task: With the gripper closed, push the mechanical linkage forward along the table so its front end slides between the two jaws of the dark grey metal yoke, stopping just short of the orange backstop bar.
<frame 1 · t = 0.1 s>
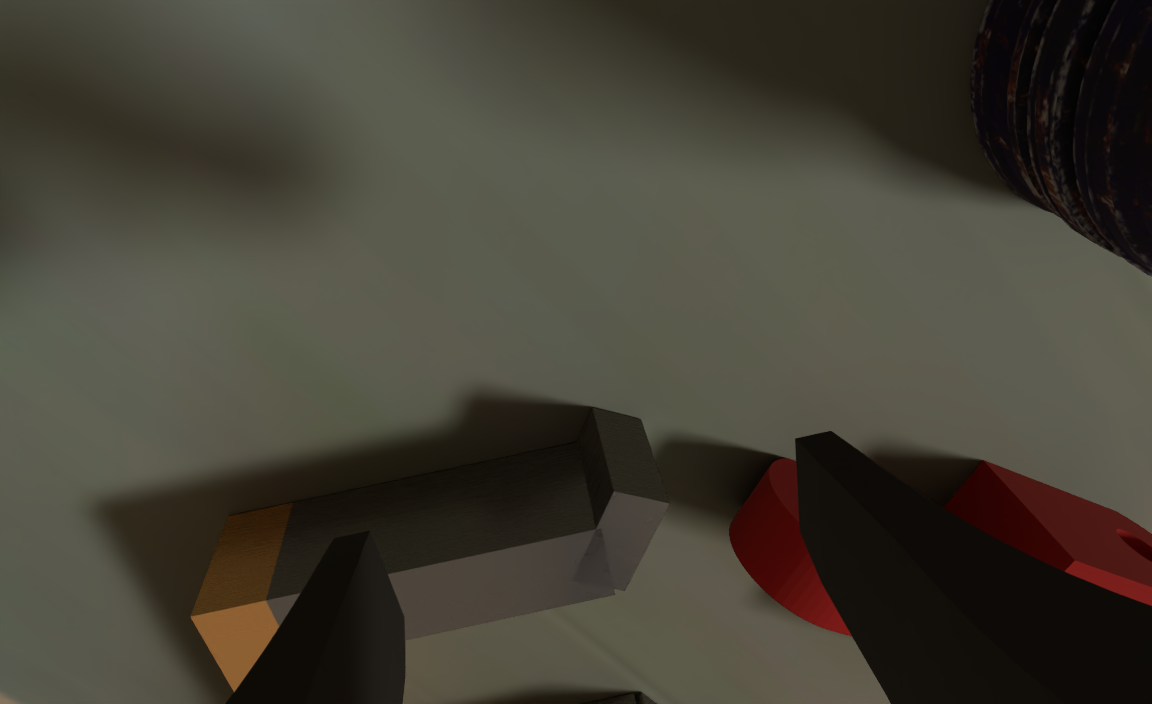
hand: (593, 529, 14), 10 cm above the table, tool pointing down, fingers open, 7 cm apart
mechanical linkage: (914, 528, 29), on the table
storage jar: (1144, 37, 21), on the table
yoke: (490, 633, 29), on the table
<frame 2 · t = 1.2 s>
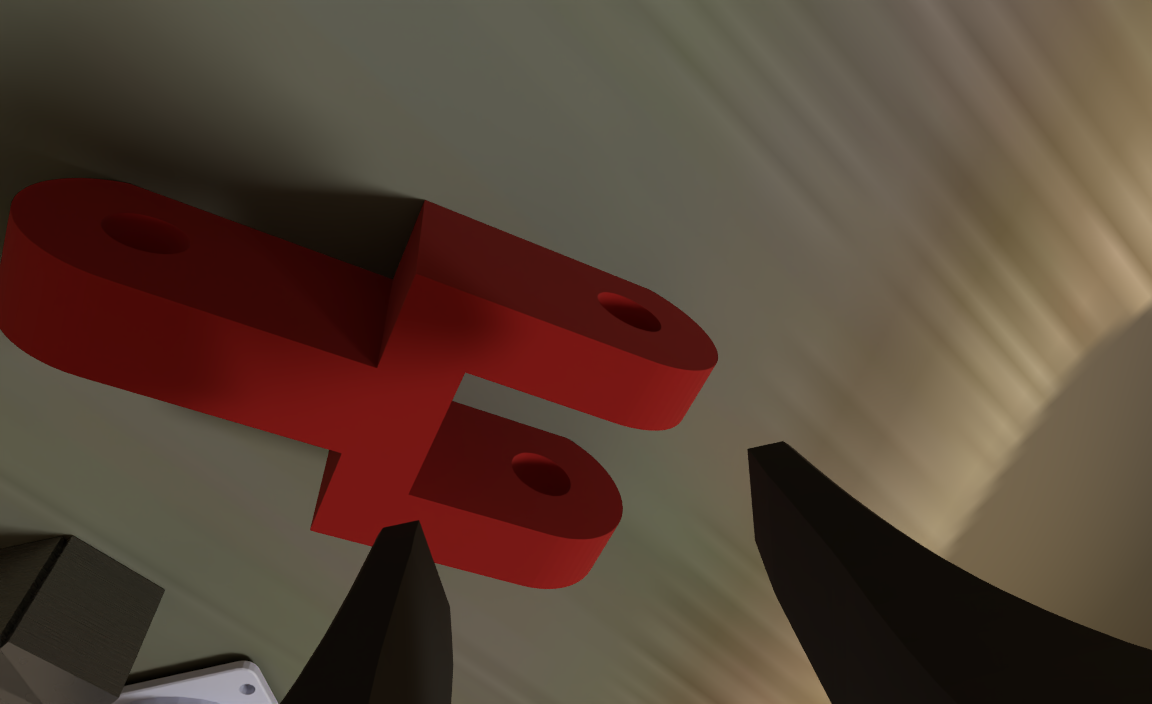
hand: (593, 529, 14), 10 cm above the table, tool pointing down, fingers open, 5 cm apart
mechanical linkage: (379, 309, 23), on the table
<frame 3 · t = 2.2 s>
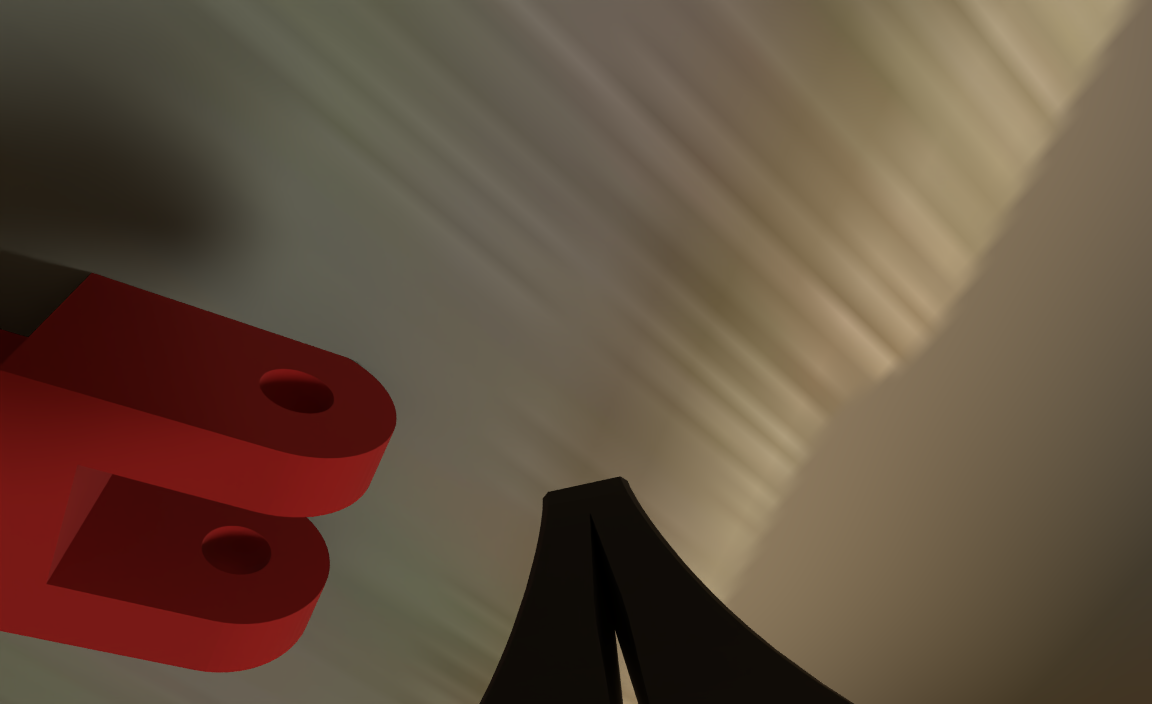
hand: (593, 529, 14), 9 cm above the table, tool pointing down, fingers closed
mechanical linkage: (70, 380, 22), on the table
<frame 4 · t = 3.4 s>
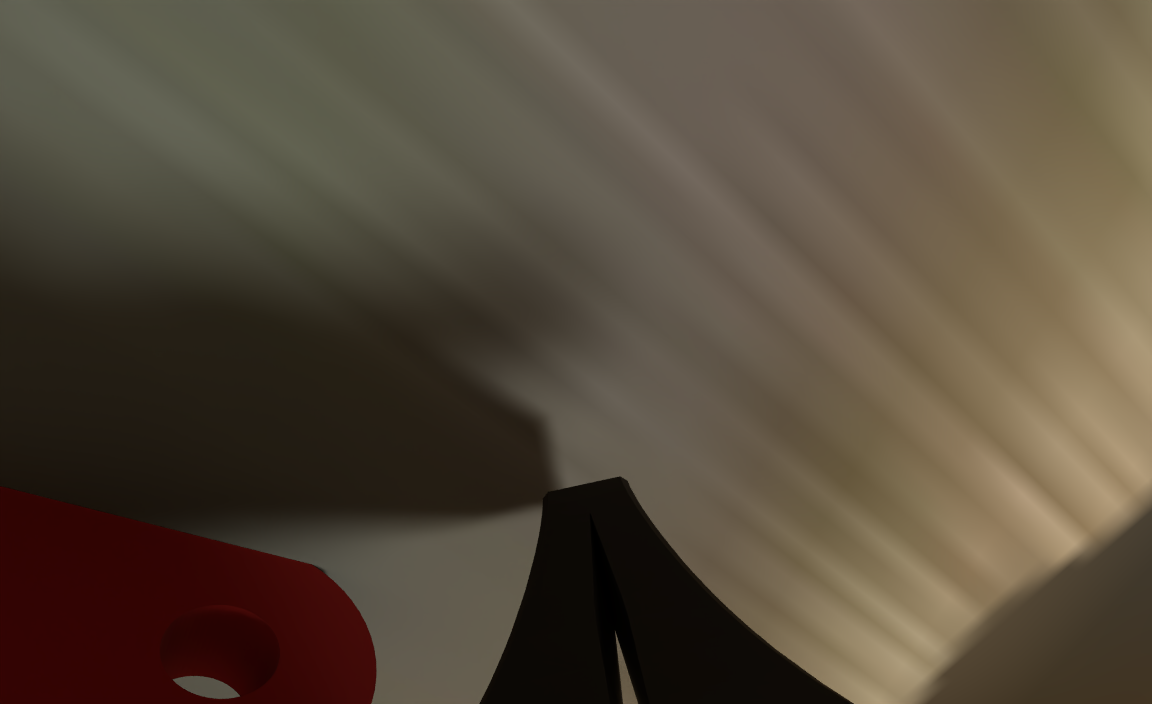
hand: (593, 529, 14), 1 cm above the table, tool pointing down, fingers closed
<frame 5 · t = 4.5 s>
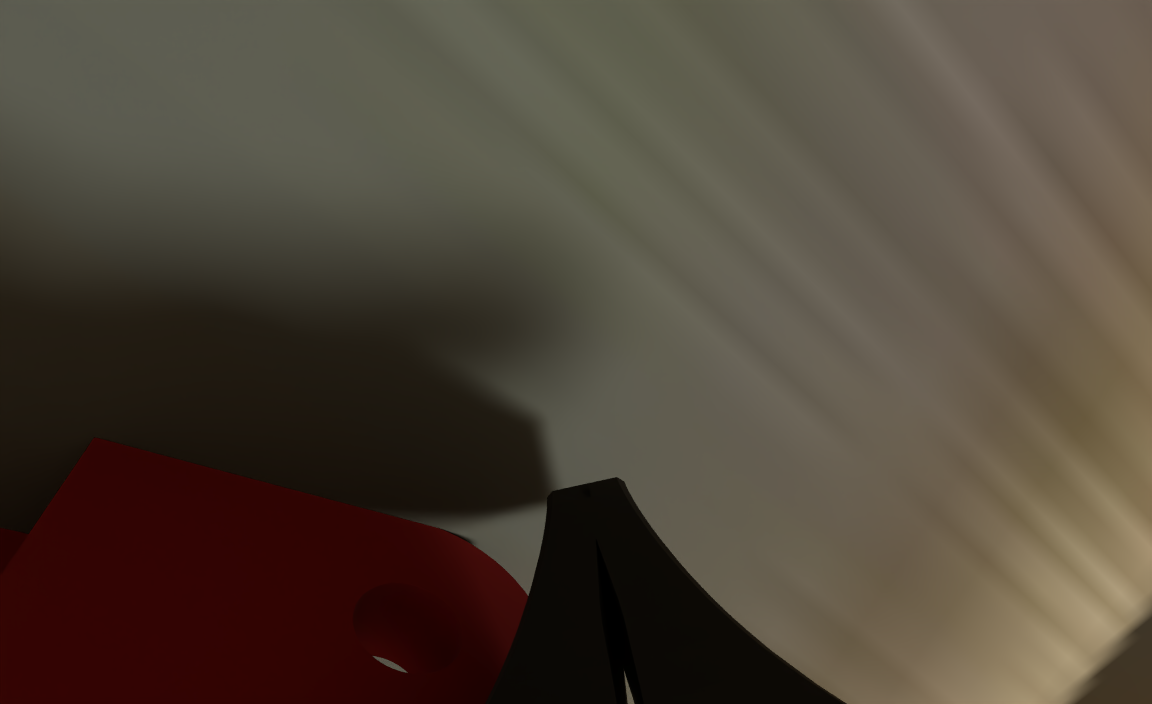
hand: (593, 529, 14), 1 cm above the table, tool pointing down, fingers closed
mechanical linkage: (62, 581, 15), on the table, touching gripper
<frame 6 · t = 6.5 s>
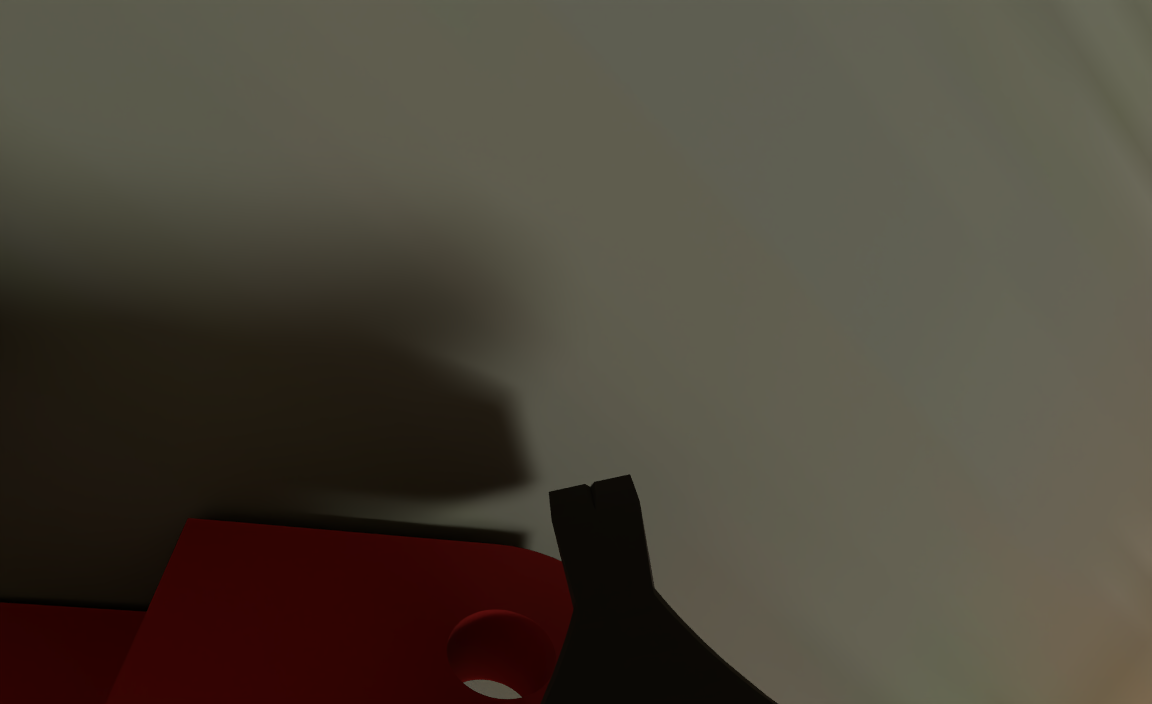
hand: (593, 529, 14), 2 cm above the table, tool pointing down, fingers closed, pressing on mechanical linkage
mechanical linkage: (192, 649, 16), on the table, touching gripper, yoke
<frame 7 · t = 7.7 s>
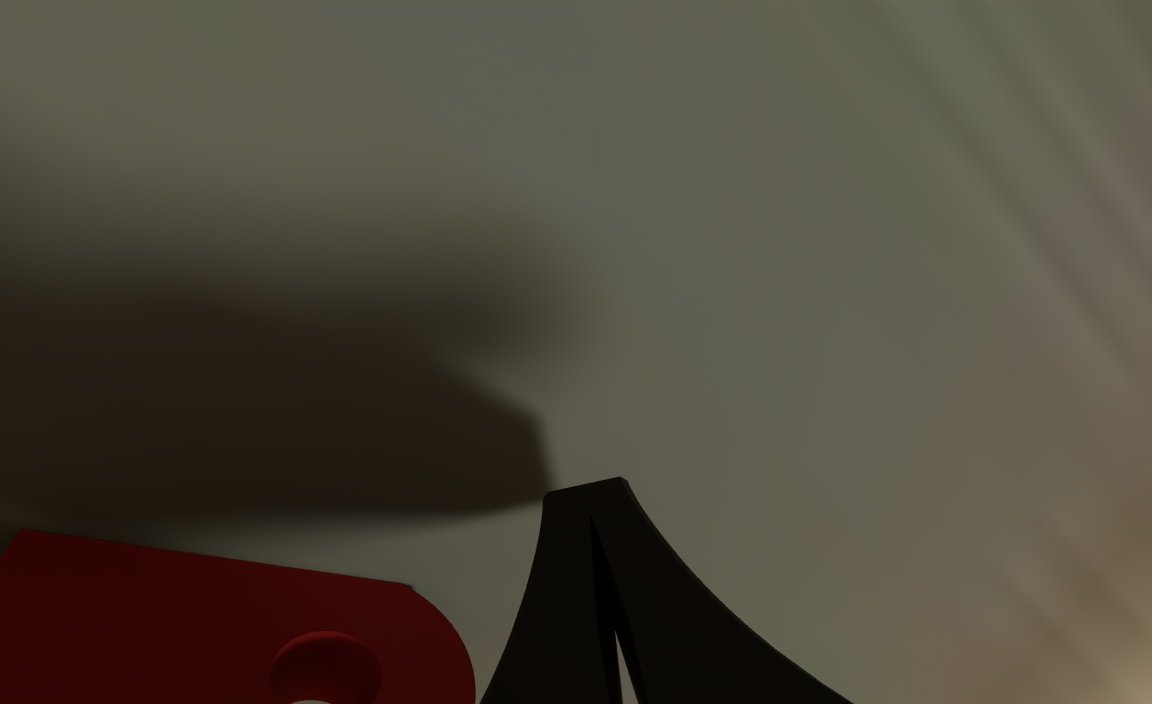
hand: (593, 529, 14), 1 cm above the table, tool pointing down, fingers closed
mechanical linkage: (27, 653, 16), on the table
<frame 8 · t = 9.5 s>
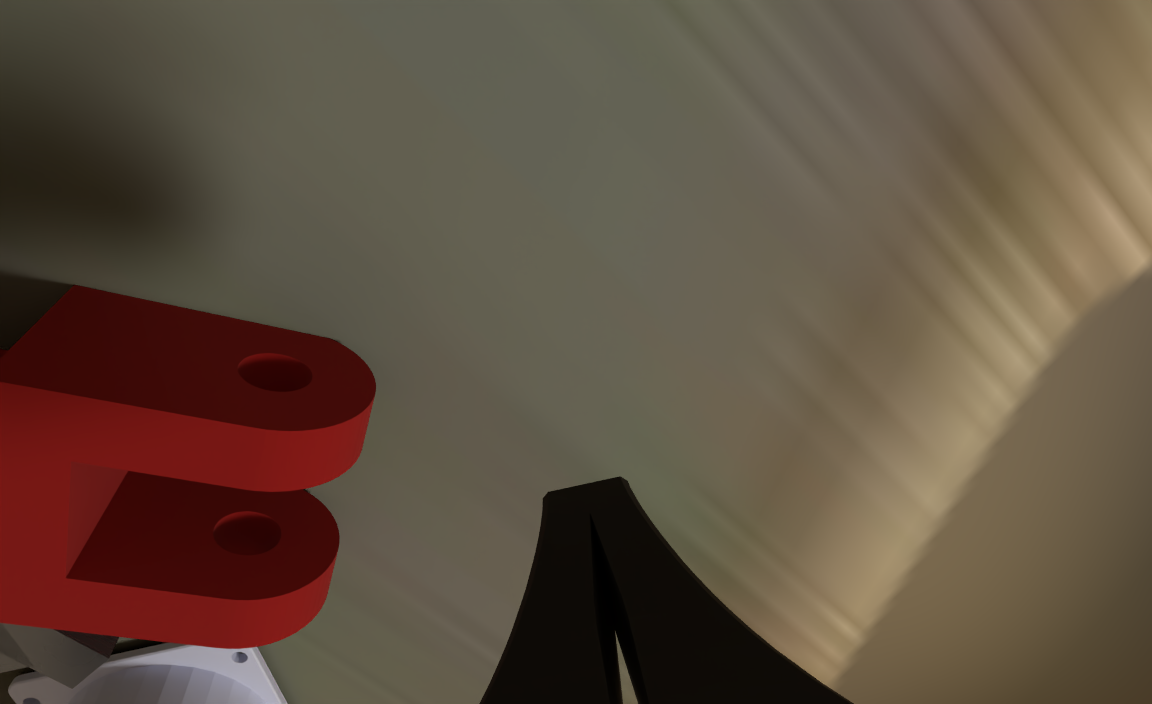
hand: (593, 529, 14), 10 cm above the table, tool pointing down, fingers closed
mechanical linkage: (75, 390, 23), on the table
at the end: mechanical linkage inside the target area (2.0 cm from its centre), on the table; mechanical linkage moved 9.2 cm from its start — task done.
